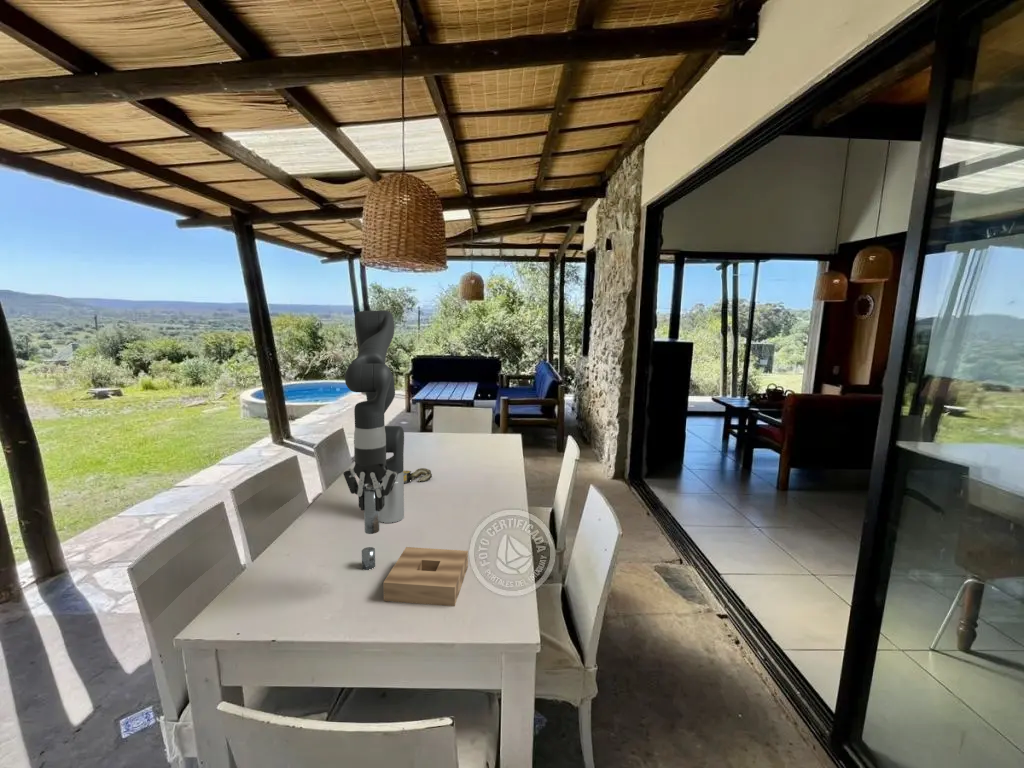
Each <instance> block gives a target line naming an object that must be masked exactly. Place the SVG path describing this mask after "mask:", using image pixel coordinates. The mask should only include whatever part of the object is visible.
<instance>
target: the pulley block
mask: <svg viewBox="0 0 1024 768" xmlns="http://www.w3.org/2000/svg"><path fill="white" fill-rule="evenodd" d="M403 472H404V484H406V483H411V482H410V480H411V481H412V480H415V479H418V478H419V477H420V478H419V479H418V482H419V483H420V481H421V482H426V481H429V480H430V479H431V478H433V474H432V471H431V470H430V469H428V468H425V467H421V468H418V469H416V470H415V471H413V472H412V471H411V470H403ZM421 476H422V477H421ZM367 486H368V487H371V486H373V484H370V483H369V484H368V485H367Z"/></svg>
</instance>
